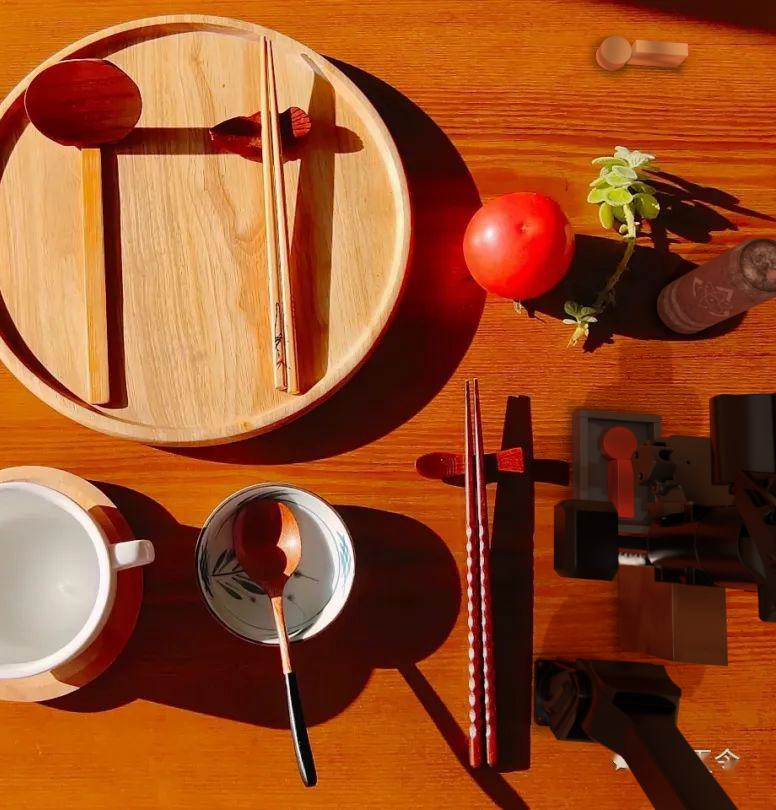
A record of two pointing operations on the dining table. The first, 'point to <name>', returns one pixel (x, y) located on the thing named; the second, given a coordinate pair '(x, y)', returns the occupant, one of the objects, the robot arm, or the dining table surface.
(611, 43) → the birch spoon
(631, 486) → the red spoon
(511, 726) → the dining table surface
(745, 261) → the can
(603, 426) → the tray
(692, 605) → the stand
